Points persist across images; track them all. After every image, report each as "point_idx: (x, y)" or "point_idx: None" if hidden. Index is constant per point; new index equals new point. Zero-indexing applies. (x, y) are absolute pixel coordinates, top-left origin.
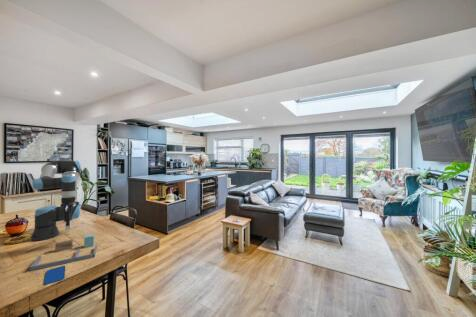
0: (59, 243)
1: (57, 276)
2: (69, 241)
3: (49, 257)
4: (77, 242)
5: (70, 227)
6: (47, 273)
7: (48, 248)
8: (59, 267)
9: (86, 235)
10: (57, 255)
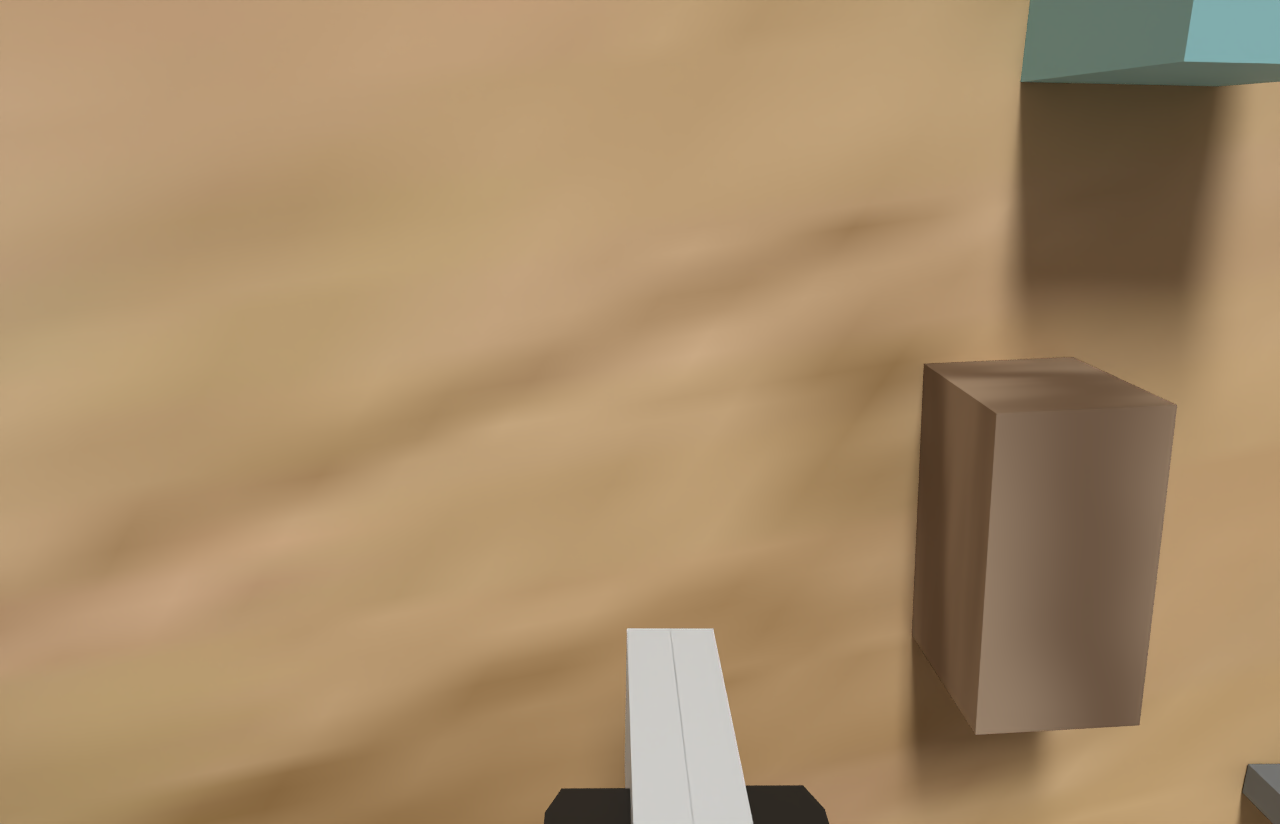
0: (1109, 659)
1: None
2: (1112, 464)
3: (1274, 656)
4: (676, 302)
5: (700, 678)
6: None
7: None
8: None
9: (1246, 23)
10: (1274, 548)
